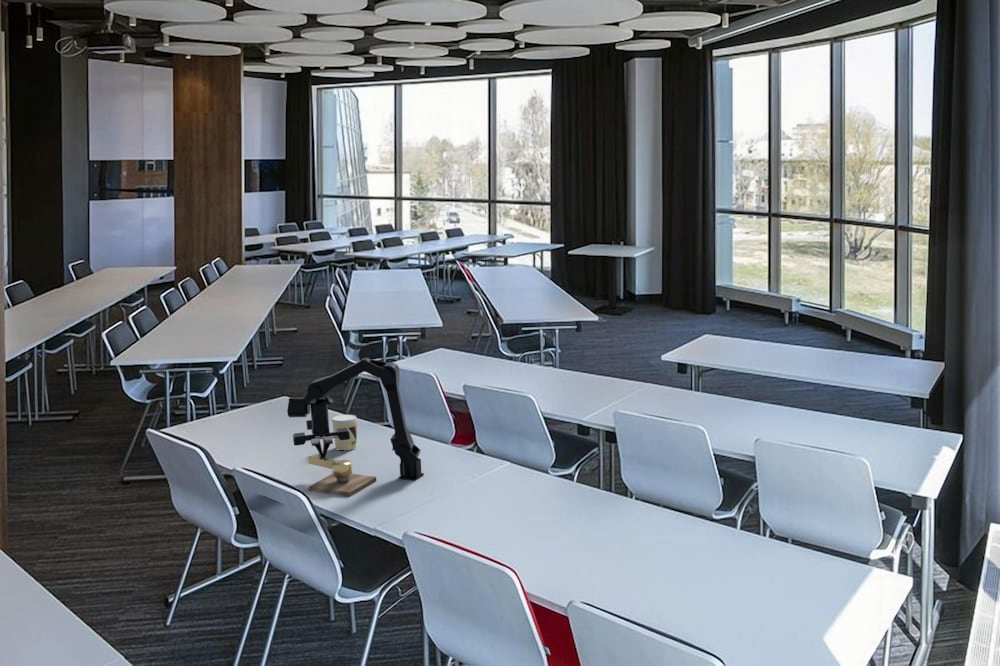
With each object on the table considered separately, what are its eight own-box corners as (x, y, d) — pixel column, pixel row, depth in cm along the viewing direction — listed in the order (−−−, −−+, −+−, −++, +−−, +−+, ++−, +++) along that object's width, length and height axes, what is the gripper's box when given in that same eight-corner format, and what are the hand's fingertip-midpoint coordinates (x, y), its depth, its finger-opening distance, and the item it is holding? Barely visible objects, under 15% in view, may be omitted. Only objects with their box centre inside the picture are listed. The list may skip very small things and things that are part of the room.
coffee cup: (356, 451, 344) (354, 420, 342) (331, 452, 344) (329, 421, 342) (360, 444, 353) (358, 414, 351) (336, 444, 353) (334, 414, 351)
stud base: (376, 481, 311) (375, 470, 310) (349, 496, 296) (349, 485, 296) (336, 475, 317) (336, 465, 317) (308, 490, 303) (308, 480, 302)
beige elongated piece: (356, 473, 307) (355, 461, 306) (342, 478, 302) (341, 467, 301) (318, 464, 317) (317, 453, 317) (304, 469, 312) (303, 458, 311)
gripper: (345, 408, 322) (348, 450, 325) (290, 413, 317) (294, 457, 320) (348, 415, 311) (351, 460, 314) (292, 421, 307) (295, 466, 309)
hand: (323, 460), depth 315 cm, fingers closed
